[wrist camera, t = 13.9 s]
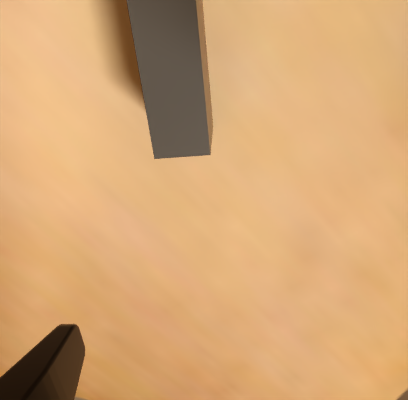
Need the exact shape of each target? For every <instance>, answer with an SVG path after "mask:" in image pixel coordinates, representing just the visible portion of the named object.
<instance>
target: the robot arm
mask: <svg viewBox="0 0 408 400" xmlns="http://www.w3.org/2000/svg"><path fill="white" fill-rule="evenodd" d="M84 356H85V345H84V342H83V339H82V336H81V333H80V330H79V327H78V326H77V325H76V324H61V325H59V326H57V327H56V328H55V329H54V330H53V331H52V332H50V333H49V334H48V335H47V336H46V337H45V338H44V339H43V340H42V341H40V342H39V343H38V344H37V345H36V346H35V347H34V348H33V349H32V350H30V351H29V352H28V353H27V354H26V355H25V356H24V357H23V358H21V359H20V360H19V361H18V362H17V363H16V364H15V365H14V366H13V367H11V368H10V369H9V370H8V371H7V372H6V373H5V374H4V375H3V376H1V377H0V400H74V398H75V394H76V390H77V386H78V382H79V377H80V373H81V369H82V365H83V361H84Z"/></svg>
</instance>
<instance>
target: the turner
mask: <svg viewBox="0 0 408 400" xmlns="http://www.w3.org/2000/svg"><path fill="white" fill-rule="evenodd" d="M127 5H128V11H129V17H130V22H131V28H132V34H133V39H134V45H135V51H136V57H137V62H138V68H139V74H140V79H141V85H142V91H143V96H144V102H145V108H146V113H147V119H148V125H149V130H150V136H151V142H152V147H153V153H154V159H160V158H174V157H188V156H202V155H210V154H211V143H212V133H213V119H212V107H211V96H210V84H209V72H208V61H207V49H206V38H205V26H204V14H203V3H202V0H127Z"/></svg>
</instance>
